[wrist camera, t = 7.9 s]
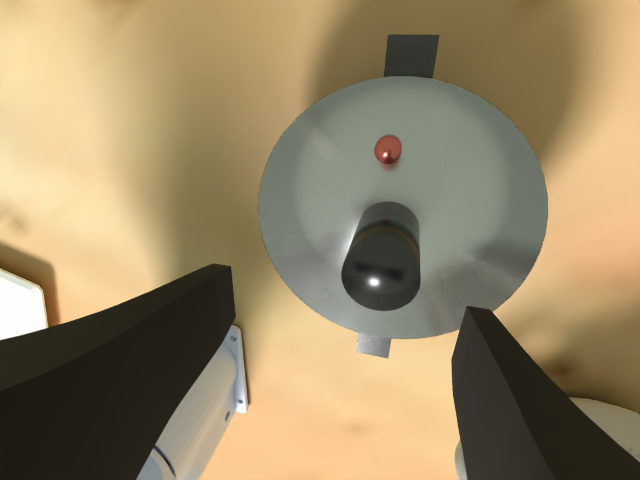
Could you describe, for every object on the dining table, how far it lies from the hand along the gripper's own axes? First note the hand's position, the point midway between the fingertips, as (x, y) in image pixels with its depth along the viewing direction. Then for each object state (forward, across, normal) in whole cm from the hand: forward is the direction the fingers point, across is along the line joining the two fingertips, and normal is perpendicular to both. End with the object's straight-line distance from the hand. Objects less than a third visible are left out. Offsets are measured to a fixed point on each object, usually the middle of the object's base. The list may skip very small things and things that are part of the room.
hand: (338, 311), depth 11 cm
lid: (+6, -1, 0) cm, 6 cm away
